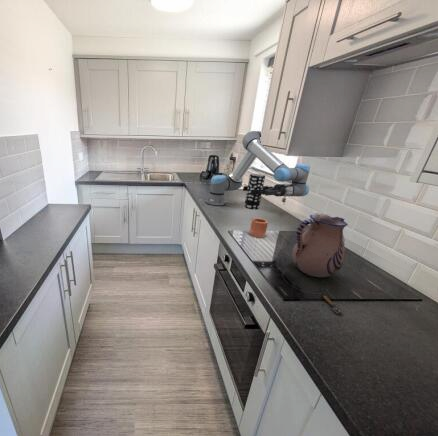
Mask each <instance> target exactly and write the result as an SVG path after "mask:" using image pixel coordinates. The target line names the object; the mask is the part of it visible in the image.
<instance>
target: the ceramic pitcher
mask: <svg viewBox="0 0 438 436" xmlns="http://www.w3.org/2000/svg"><path fill="white" fill-rule="evenodd" d="M308 225H309V226H308ZM307 226H308V227H307ZM347 226H348V223H347V222H346V221H345V218H343V217H340V216H334V217H332V216H330V215H328V214H325V213H319V212H318V213H317V212H316V213H312V214H311V213H310V215H309V218H306V219H304V220H302V221H301V222H300V223H299V224H298V225H297V228H296V231H295V238H296V242H295V244H294V246H293V248H292V251H291V252H292V253H291V256H292V257H291V258H292V261H293V263H294V265H295V267H296V268H297V269H298V270H299V271H300V272H302V273H304V274H305V275H307V276H310V277H315V278H327V277H332V276H333V275H336V274H337V272H338V271H340V270H341V268H342V266H343V264H344V261H345V252H346V251H345V250H346V249H345V241H346V239H345V236H344V229H345V227H347ZM306 227H307V228H306ZM304 229H305V230H304ZM303 231H304V232H303Z"/></svg>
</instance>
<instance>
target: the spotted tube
mask: <svg viewBox="0 0 438 436" xmlns="http://www.w3.org/2000/svg"><path fill="white" fill-rule="evenodd" d="M265 180H266V175H265V174H259V173H250V174H249V177H248V182H247V183H248V184H247V186H248V188H247V191H246V193H245V194H246V195H245V199H244V206H243V207H244V208H245V209H246V210H252V211H253V210H254V211H255V210H259V209H260V204H261V200H262V196H263V194H256V195H251V190H263V186H265Z"/></svg>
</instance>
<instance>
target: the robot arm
mask: <svg viewBox="0 0 438 436" xmlns="http://www.w3.org/2000/svg"><path fill="white" fill-rule="evenodd" d="M261 131H262V130H250V131H248V132H247V133H245V134H244V135H243V138H242V140H241V141H242V146H243V148H244V149H245V150H246V152H245V153H244V154H243V156H242V158H241V159H240V160H239V162H238V164H237V165H236V167H235V168H234V170H233V171H230V172H229V174H228V175H227V176H226V175H225V174H224V175H223V174H216V175H213V176H212V177H211V180H210V188H209V193H208V196H207V198H206V201H205V203H206V204H208V205H211V206H217V207H220V206H225V205H226V199H225V192H229V191H238V190H240V189H241V188H242V191H243V192H247V188H248V185H244V186H243V181H244V180H243V179H244V178H243V177H244V176H245V174H246V173H247V171H248V170H249V169H250V168H251V166H252V164H254V162H255V161H256V159H257V160H259V161H260V162H261V163H262V164H263V165H264V166H265V167H266V168H267V169H268V170H269V171H271V172H272V173H273V177H274V180H275V181H276V182H283V183H276V184H275V185H274V186H271V185H270V186H269V185H263V190H251V195H256V194H262V196H266V197H267V196H274V197H284V198H286V197H305V196H308V194H309V192H310V188H309V185H308V184H307V181H308V178H309V174H310V169H311V165H310V164H306V163H297V164H295V166H294V167H289V166H287V165H286V164H285V163H284V162H283V161H282V160H280V159H279V158H278V157H277V156H276V155H275V154H274V153H273V152H272V151H270V149H269V148H268V149H267V148H266V147H264V146H263V145H262V144H261V141H260V137H261ZM285 182H291V183H285ZM242 186H243V187H242Z"/></svg>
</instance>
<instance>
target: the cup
mask: <svg viewBox="0 0 438 436" xmlns="http://www.w3.org/2000/svg"><path fill="white" fill-rule="evenodd" d="M268 225H269V221H268V220H266V219H264V218H260V217H253V218H252V219H251V224H250V227H249V235H250V236H252V237H254V238H259V239H260V238H261V239H262V238H265V237H266V234H267V230H268Z"/></svg>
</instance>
